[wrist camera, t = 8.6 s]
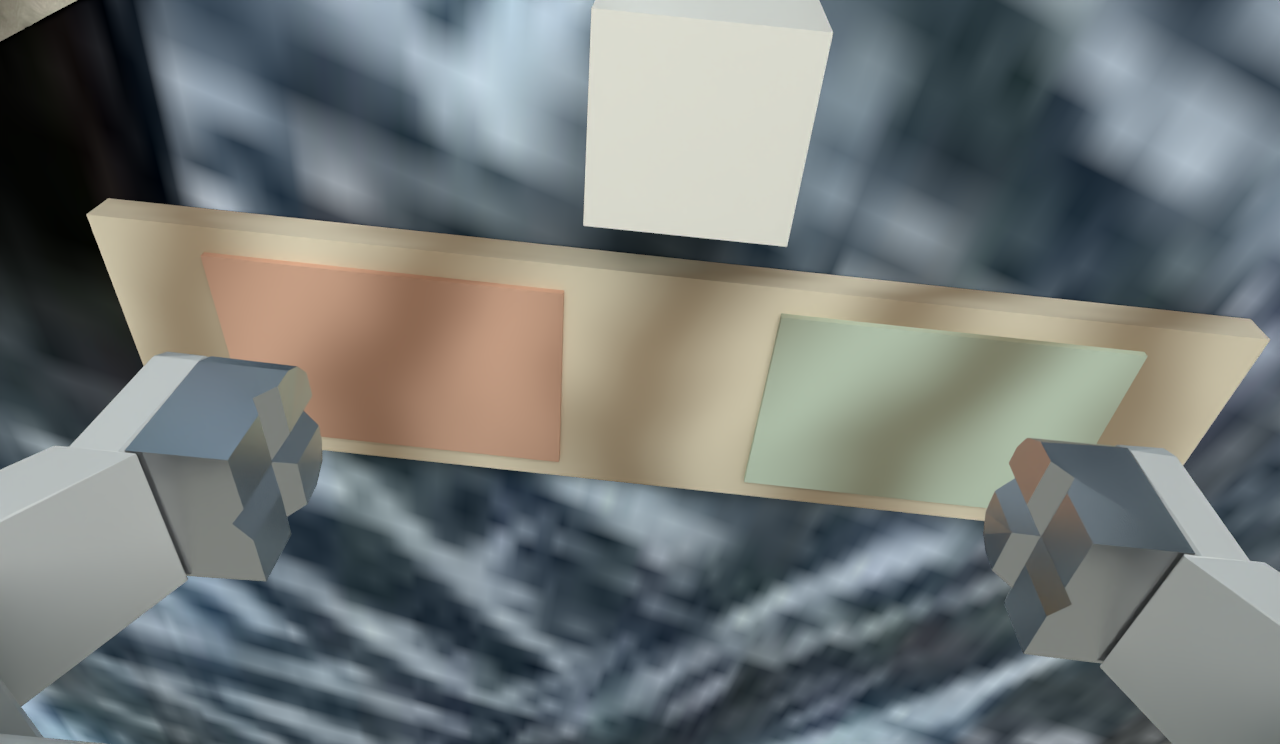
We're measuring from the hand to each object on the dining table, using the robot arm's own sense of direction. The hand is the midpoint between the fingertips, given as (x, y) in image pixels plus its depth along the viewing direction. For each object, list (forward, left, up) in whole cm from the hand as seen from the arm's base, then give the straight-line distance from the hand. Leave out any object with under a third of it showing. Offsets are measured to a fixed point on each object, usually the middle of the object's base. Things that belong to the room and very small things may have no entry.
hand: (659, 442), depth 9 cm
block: (0, 0, -13) cm, 13 cm away
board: (0, +9, -13) cm, 15 cm away
